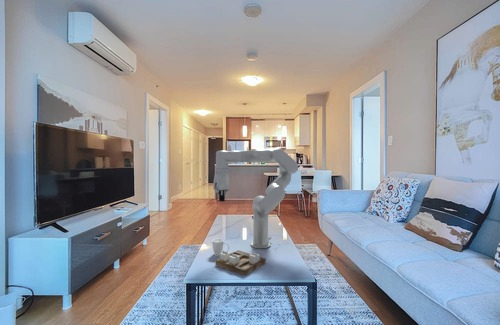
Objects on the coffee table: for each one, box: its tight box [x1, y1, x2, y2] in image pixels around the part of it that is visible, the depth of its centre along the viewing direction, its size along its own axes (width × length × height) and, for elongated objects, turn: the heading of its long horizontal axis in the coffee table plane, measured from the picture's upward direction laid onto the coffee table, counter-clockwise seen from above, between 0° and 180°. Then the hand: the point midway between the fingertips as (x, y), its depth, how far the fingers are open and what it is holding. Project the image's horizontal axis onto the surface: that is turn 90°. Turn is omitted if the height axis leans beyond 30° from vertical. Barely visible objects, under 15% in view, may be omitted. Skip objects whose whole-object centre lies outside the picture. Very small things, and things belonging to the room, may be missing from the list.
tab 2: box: [249, 252, 260, 264], centre depth 128 cm, size 4×4×5 cm
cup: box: [211, 238, 230, 257], centre depth 143 cm, size 7×10×8 cm
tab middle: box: [229, 254, 240, 265], centre depth 125 cm, size 4×4×5 cm
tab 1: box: [219, 250, 231, 262], centre depth 129 cm, size 4×4×5 cm
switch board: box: [215, 250, 267, 277], centre depth 129 cm, size 18×19×3 cm
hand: (221, 201), depth 152 cm, fingers closed
